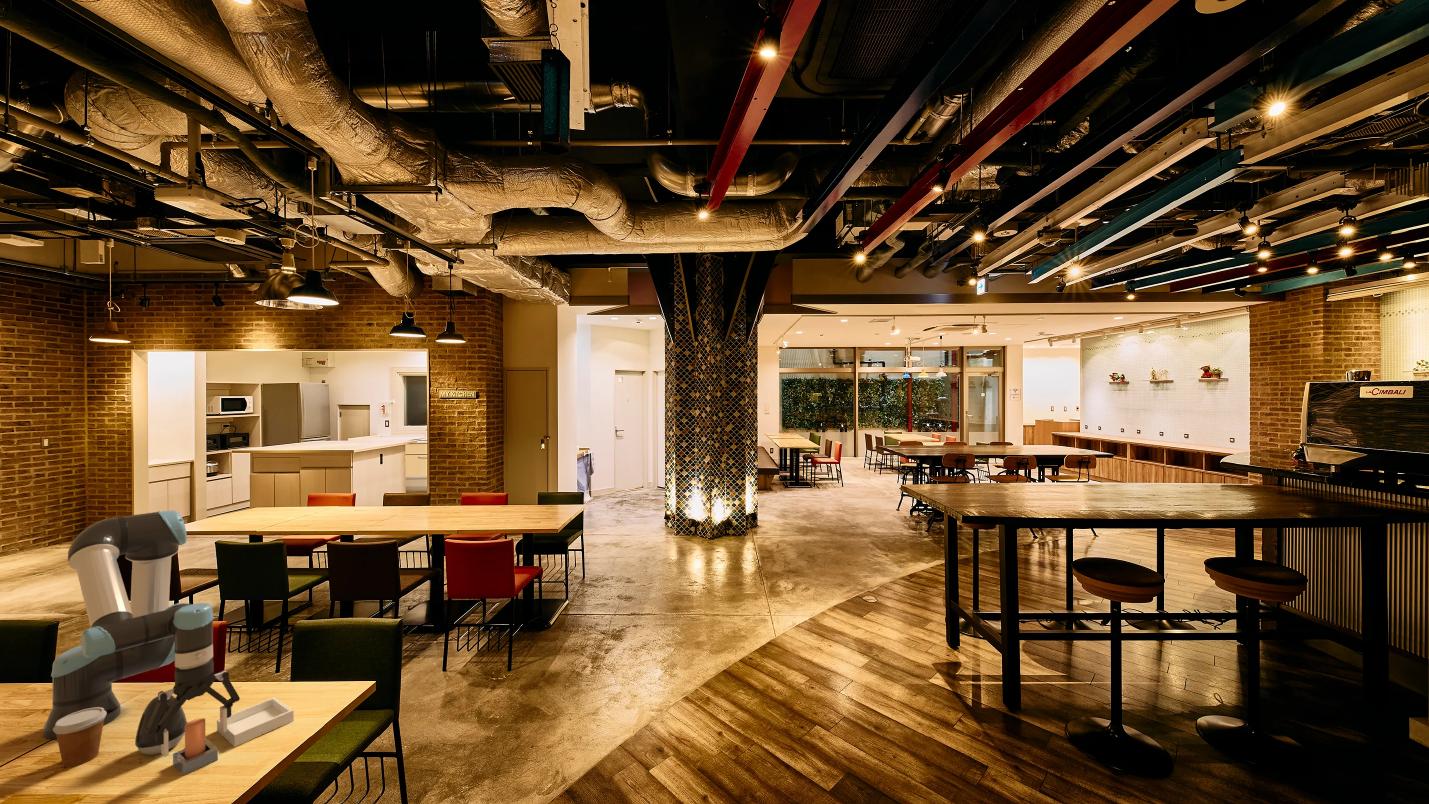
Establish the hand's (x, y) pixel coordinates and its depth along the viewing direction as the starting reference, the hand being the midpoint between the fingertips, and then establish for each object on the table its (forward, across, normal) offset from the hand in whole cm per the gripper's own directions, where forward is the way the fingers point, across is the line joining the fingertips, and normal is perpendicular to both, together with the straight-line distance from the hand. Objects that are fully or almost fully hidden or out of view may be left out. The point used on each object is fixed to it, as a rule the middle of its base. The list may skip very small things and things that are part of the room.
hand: (195, 742), depth 144 cm
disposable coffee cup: (+6, -16, +29) cm, 34 cm away
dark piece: (+6, -3, +16) cm, 17 cm away
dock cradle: (+6, +15, +6) cm, 17 cm away
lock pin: (+6, 0, 0) cm, 6 cm away
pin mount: (+6, 0, 0) cm, 6 cm away
